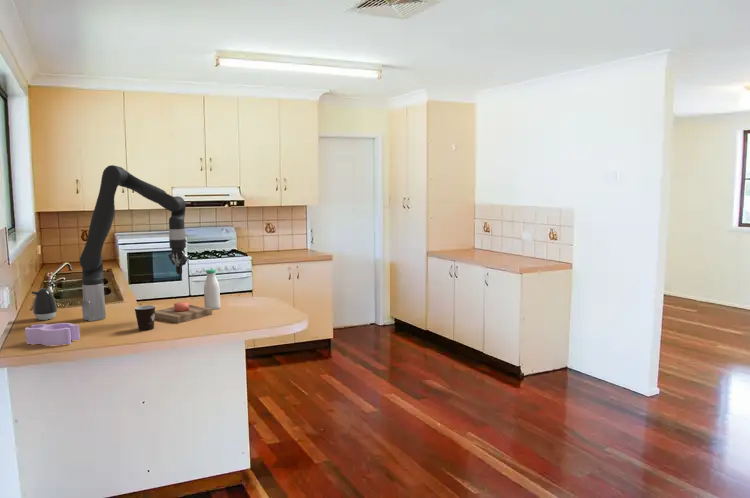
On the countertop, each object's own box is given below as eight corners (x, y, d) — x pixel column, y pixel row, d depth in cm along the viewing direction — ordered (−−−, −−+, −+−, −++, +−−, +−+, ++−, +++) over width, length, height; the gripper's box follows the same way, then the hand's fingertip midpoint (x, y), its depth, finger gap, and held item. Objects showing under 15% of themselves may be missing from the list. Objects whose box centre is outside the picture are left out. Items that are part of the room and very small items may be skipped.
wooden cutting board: (178, 323, 283) (178, 316, 283) (151, 318, 295) (151, 311, 294) (212, 314, 300) (211, 308, 300) (185, 310, 311) (185, 304, 311)
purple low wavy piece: (19, 347, 249) (18, 330, 248) (38, 338, 261) (37, 323, 260) (67, 347, 247) (65, 330, 247) (83, 338, 260) (82, 323, 259)
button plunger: (180, 311, 292) (180, 305, 292) (171, 310, 296) (170, 304, 296) (192, 309, 298) (192, 303, 297) (183, 307, 302) (182, 301, 301)
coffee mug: (144, 332, 268) (142, 310, 267) (131, 330, 272) (130, 308, 271) (166, 326, 278) (164, 305, 276) (153, 324, 282) (152, 303, 281)
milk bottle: (223, 307, 315) (221, 269, 313) (212, 310, 309) (210, 271, 306) (213, 306, 320) (211, 268, 317) (201, 308, 313) (199, 270, 311)
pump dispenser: (30, 319, 296) (27, 288, 294) (53, 315, 303) (50, 285, 301) (37, 322, 289) (35, 291, 287) (61, 318, 296) (58, 288, 295)
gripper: (192, 238, 292) (194, 273, 294) (175, 236, 299) (177, 271, 301) (179, 239, 286) (181, 276, 288) (162, 238, 293) (164, 273, 295)
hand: (179, 273), depth 295 cm, fingers closed
